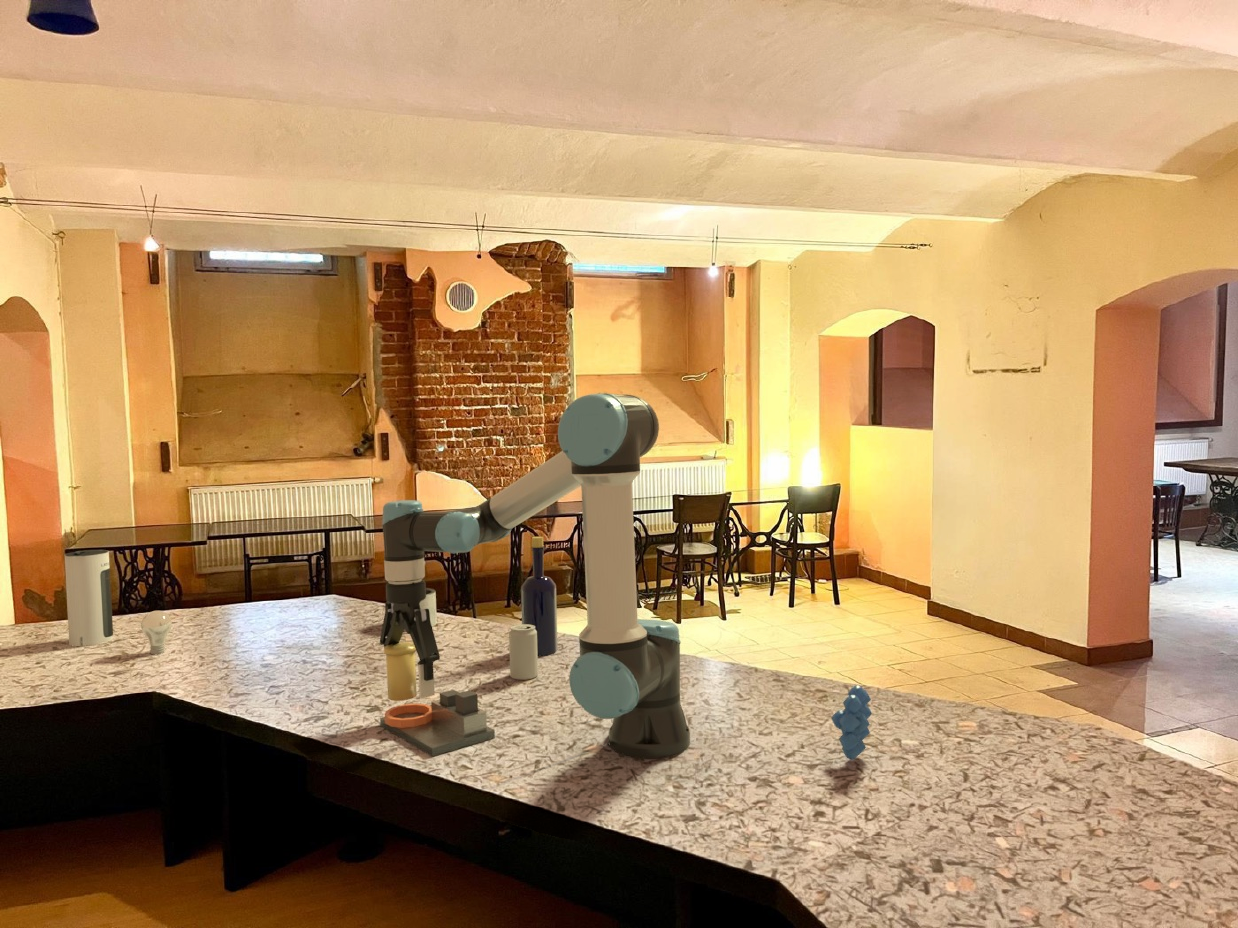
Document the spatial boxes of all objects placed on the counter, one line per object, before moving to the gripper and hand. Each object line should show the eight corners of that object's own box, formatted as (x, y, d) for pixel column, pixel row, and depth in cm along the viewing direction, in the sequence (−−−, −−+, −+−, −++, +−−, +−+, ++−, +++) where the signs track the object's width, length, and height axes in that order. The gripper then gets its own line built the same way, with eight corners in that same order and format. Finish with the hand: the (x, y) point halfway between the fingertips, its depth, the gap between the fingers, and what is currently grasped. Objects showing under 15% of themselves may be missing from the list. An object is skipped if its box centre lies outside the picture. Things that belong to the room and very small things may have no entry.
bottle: (543, 662, 209) (541, 540, 208) (514, 657, 214) (511, 538, 213) (565, 653, 217) (563, 536, 216) (536, 648, 222) (534, 534, 220)
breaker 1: (461, 716, 165) (461, 693, 165) (448, 719, 163) (447, 696, 163) (454, 712, 167) (453, 689, 167) (440, 715, 165) (439, 693, 165)
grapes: (841, 739, 156) (840, 675, 156) (878, 746, 153) (878, 680, 152) (821, 761, 146) (820, 693, 146) (860, 769, 143) (860, 699, 142)
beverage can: (533, 682, 193) (532, 630, 192) (506, 681, 194) (505, 629, 194) (541, 674, 199) (540, 623, 199) (515, 673, 201) (514, 622, 200)
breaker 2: (478, 717, 160) (477, 693, 160) (464, 721, 158) (463, 697, 158) (469, 713, 163) (469, 690, 162) (455, 717, 161) (455, 693, 160)
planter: (384, 635, 238) (383, 596, 238) (403, 624, 251) (401, 587, 250) (426, 636, 236) (425, 596, 235) (443, 625, 248) (442, 587, 248)
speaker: (98, 651, 226) (93, 553, 225) (59, 651, 227) (54, 554, 225) (121, 640, 237) (117, 547, 236) (84, 641, 237) (80, 548, 236)
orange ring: (441, 719, 166) (441, 711, 166) (398, 730, 160) (398, 723, 160) (419, 707, 173) (419, 700, 173) (377, 718, 167) (377, 711, 167)
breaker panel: (494, 737, 160) (494, 711, 160) (432, 756, 152) (431, 728, 151) (439, 709, 176) (438, 686, 176) (380, 725, 167) (379, 700, 167)
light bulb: (178, 655, 221) (176, 609, 220) (151, 661, 215) (149, 614, 215) (163, 651, 225) (161, 606, 224) (137, 658, 219) (134, 611, 218)
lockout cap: (424, 695, 169) (421, 646, 168) (395, 703, 165) (392, 652, 164) (409, 689, 173) (407, 640, 173) (380, 696, 169) (378, 646, 169)
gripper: (455, 585, 158) (459, 698, 159) (394, 570, 177) (398, 671, 178) (418, 591, 153) (423, 707, 154) (359, 575, 172) (364, 679, 173)
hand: (410, 688), depth 166 cm, fingers open, 13 cm apart
